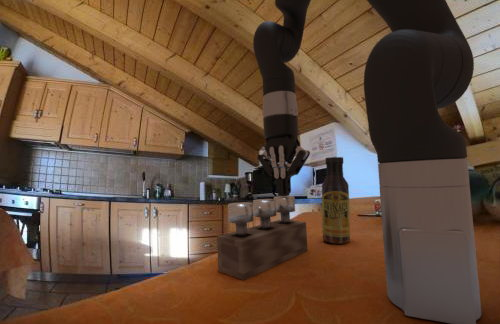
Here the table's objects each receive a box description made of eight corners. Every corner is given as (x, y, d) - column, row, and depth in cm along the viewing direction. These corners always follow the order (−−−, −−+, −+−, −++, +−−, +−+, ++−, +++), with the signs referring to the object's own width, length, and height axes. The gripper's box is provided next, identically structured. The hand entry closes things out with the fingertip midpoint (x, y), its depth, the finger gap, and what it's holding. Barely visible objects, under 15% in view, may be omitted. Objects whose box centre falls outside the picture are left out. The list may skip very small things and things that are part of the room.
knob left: (247, 248, 41) (245, 205, 42) (224, 246, 43) (223, 205, 43) (258, 241, 45) (256, 202, 45) (237, 239, 47) (235, 202, 47)
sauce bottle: (322, 244, 57) (317, 157, 58) (323, 237, 63) (318, 158, 64) (353, 245, 55) (347, 155, 56) (351, 238, 61) (345, 157, 62)
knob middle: (272, 239, 46) (270, 201, 46) (250, 238, 48) (249, 201, 48) (280, 234, 50) (278, 198, 50) (260, 232, 52) (258, 198, 52)
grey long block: (283, 245, 58) (281, 219, 58) (307, 250, 53) (305, 221, 53) (218, 270, 44) (216, 236, 44) (243, 280, 39) (242, 241, 40)
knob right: (292, 232, 51) (290, 197, 51) (272, 231, 52) (270, 197, 53) (298, 228, 54) (296, 195, 55) (279, 227, 56) (277, 196, 57)
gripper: (246, 119, 57) (250, 196, 56) (296, 107, 47) (300, 199, 47) (268, 123, 62) (271, 193, 61) (316, 112, 53) (320, 195, 52)
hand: (284, 195), depth 54 cm, fingers closed
